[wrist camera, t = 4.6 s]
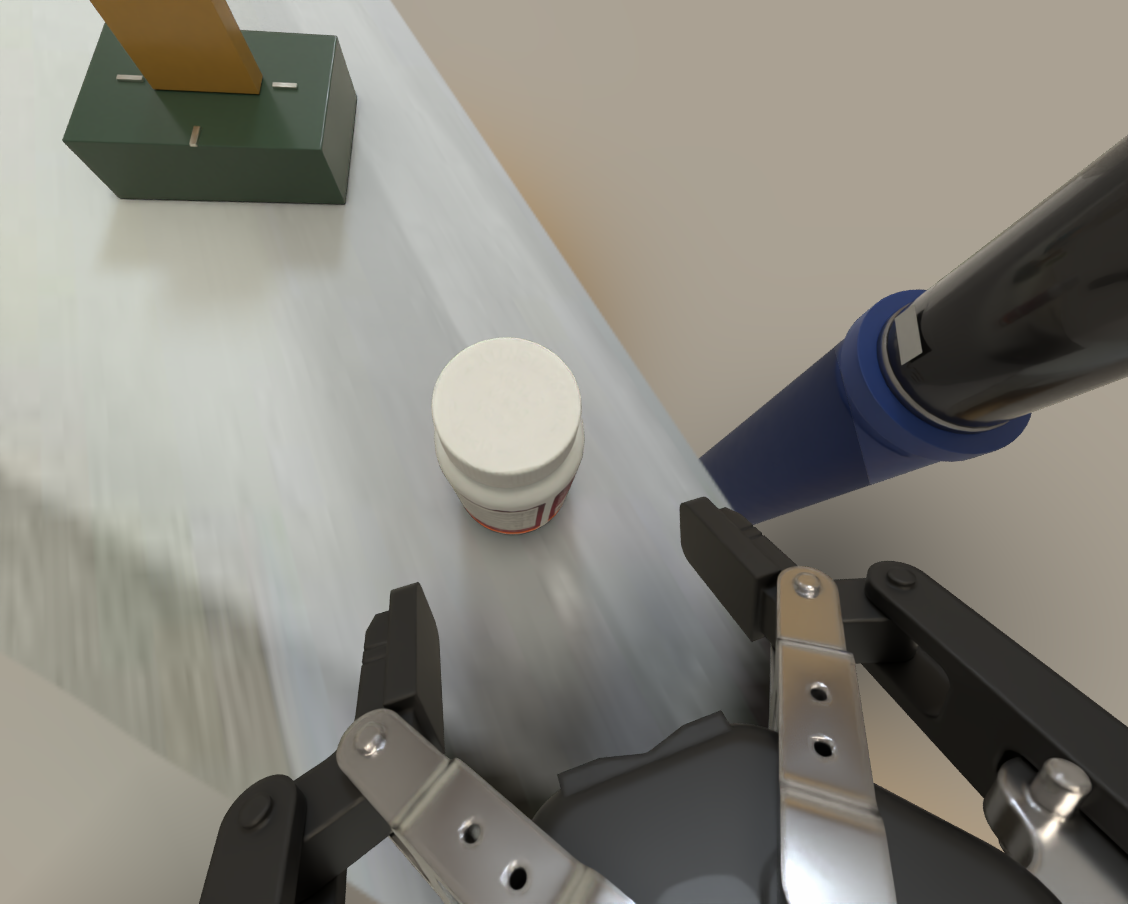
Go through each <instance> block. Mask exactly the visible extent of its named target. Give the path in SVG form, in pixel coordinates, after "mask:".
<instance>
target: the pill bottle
mask: <svg viewBox="0 0 1128 904" xmlns="http://www.w3.org/2000/svg"><path fill="white" fill-rule="evenodd" d="M581 409H582V406H581V396H580V391H579V387H578V385H577V382H576V380H575V378H574V376H573V374H572V372H571V371H570V369H569V368H568V367H567V365H566V364H565V363H564V362H563V361H562V360H561V359H560V358H559V357H558V356H557V355H556V354H554V353H553V352H551V351H550V350H548V349H547V348H545V347H543V346H541V345H539V344H537V343H534V342H531V341H528V340H524V339H519V338H494V339H489V340H485V341H481V342H479V343H476V344H474V345H472V346H470V347H468V348H466V349H464V350H463V351H461V352H460V353H459V354H457V355H456V356H455V357H454V358H453V359H452V360H451V361H450V362H449V363H448V364H447V365H446V367H445V368H444V369H443V371H442V372H441V374H440V376H439V378H438V380H437V382H436V385H435V388H434V391H433V396H432V417H433V423H434V426H435V432H434V440H435V450H436V455H437V459H438V462H439V464H440V468H441V470H442V472H443V474H444V475H445V477H446V478H447V480H448V481H449V483H450V484H451V486H452V487H453V489H454V491H455V492H456V494H457V496H458V497H459V499H460V501H461V502H462V504H463V506H464V507H465V509H466V510H467V511H468V513H469V514H470V515H471V516H472V517H473V518H474V519H475V520H476V521H477V522H478V523H480V524H481V525H482V526H484V527H486V528H488V529H490V530H492V531H495V532H499V533H503V534H523V533H527V532H530V531H533V530H535V529H538V528H540V527H541V526H543V525H544V524H546V523H547V522H549V521H550V520H551V519H552V518H553V517H554V516H555V515H556V514H557V512H558V511H559V510H560V508H561V506H562V505H563V503H564V501H565V499H566V496H567V494H568V491H569V489H570V486H571V484H572V482H573V479H574V477H575V475H576V472H577V470H578V467H579V465H580V462H581V460H582V456H583V449H584V428H583V422H582V418H581Z"/></svg>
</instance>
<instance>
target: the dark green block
mask: <svg viewBox="0 0 1128 904" xmlns="http://www.w3.org/2000/svg"><path fill="white" fill-rule="evenodd" d="M240 31H241V33H242V35H243V37H244V39H245V41H246V43H247V45H248V47H249V49H250V51H251V53H252V55H253V57H254V59H255V61H256V63H257V65H258V67H259V70H260V72H261V74H262V76H263V77H262V82H261V87H260V92H259V94H244V93H223V92H201V91H180V90H158V89H153V88H152V87H151V85H150V84H149V83H148V81H147V80H146V78H145V77H144V76H143V74H142V73H141V71H140V70H139V69H138V67H137V66H136V64H135V63H134V62H133V60H132V59H131V57H130V56H129V55H128V53H127V52H126V50H125V49H124V48H123V46H122V45H121V43H120V42H119V41H118V39H117V38H116V36H115V35H114V34H113V32H112V31H111V29H110V28H109V27H108V25H107V24H106V22H105V24H104V27H103V29H102V32H101V35H100V38H99V40H98V43H97V46H96V49H95V51H94V54H93V57H92V60H91V62H90V65H89V68H88V71H87V73H86V76H85V79H84V82H83V84H82V87H81V90H80V93H79V95H78V98H77V101H76V104H75V106H74V109H73V112H72V115H71V117H70V120H69V123H68V126H67V128H66V131H65V134H64V137H63V139H62V141H63V142H64V143H65V144H66V145H67V146H68V147H69V148H70V149H71V150H72V151H73V152H74V153H75V154H76V155H77V156H78V157H79V158H80V159H81V160H82V161H83V162H84V163H85V164H86V165H87V166H88V167H89V168H90V169H91V170H92V171H93V172H94V173H95V174H96V175H97V176H98V177H99V178H100V179H101V180H102V181H103V182H104V183H105V184H106V185H107V186H108V187H109V188H110V189H111V190H112V191H113V192H114V193H115V195H116V196H117V197H118V198H128V199H167V200H206V201H246V202H285V203H325V204H345V199H346V190H347V181H348V172H349V163H350V154H351V145H352V136H353V127H354V118H355V109H356V100H357V96H356V93H355V90H354V87H353V84H352V81H351V78H350V75H349V71H348V68H347V65H346V62H345V59H344V56H343V53H342V50H341V47H340V44H339V41H338V38H337V36H334V35H317V34H300V33H283V32H266V31H249V30H240Z"/></svg>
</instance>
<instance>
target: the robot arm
mask: <svg viewBox="0 0 1128 904" xmlns="http://www.w3.org/2000/svg"><path fill="white" fill-rule="evenodd" d="M877 358H878V363H879V367H880V370H881V373H882V375H883V378H884V380H885V382H886V384H887V385H888V387H889V389H890V390H891V392H892V393H893V394H894V396H895V397H896V398H897V399H898V400H899V401H900V403H901V404H902V405H903V406H904V407H906V408H907V409H908V410H909V411H910V412H911V413H913V414H914V415H915V416H917V417H918V418H919V419H921V420H923V421H924V422H926V423H928V424H930V425H932V426H934V427H936V428H939V429H942V430H945V431H948V432H953V433H959V434H977V433H982V432H985V431H989V430H991V429H994V428H997V427H999V426H1002V425H1004V424H1006V423H1007V422H1009V421H1010V420H1013V419H1016V418H1018V417H1021V416H1024V415H1026V414H1029V413H1032V412H1034V411H1037V410H1039V409H1042V408H1045V407H1048V406H1051V405H1054V404H1056V403H1059V402H1062V401H1064V400H1067V399H1070V398H1072V397H1075V396H1078V395H1080V394H1083V393H1086V392H1088V391H1091V390H1094V389H1096V388H1099V387H1102V386H1104V385H1107V384H1110V383H1112V382H1115V381H1118V380H1120V379H1123V378H1125V377H1128V135H1127V136H1126V137H1125V138H1123V139H1122V140H1121V141H1119V142H1118V143H1117V144H1115V145H1114V146H1113V147H1112V148H1110V149H1109V150H1108V151H1106V152H1105V153H1104V154H1103V155H1101V156H1100V157H1099V158H1097V159H1096V160H1095V161H1093V162H1092V163H1091V164H1090V165H1088V166H1087V167H1086V168H1085V169H1083V170H1082V171H1081V172H1079V173H1078V174H1077V175H1075V176H1074V177H1073V178H1072V179H1070V180H1069V181H1068V182H1066V183H1065V184H1064V185H1063V186H1061V187H1060V188H1059V189H1057V190H1056V191H1055V192H1054V193H1052V194H1051V195H1050V196H1048V197H1047V198H1046V199H1044V200H1043V201H1042V202H1041V203H1039V204H1038V205H1037V206H1035V207H1034V208H1033V209H1032V210H1030V211H1029V212H1028V213H1026V214H1025V215H1024V216H1023V217H1021V218H1020V219H1019V220H1017V221H1016V222H1015V223H1013V224H1012V225H1011V226H1010V227H1008V228H1007V229H1006V230H1004V231H1003V232H1002V233H1001V234H999V235H998V236H997V237H995V238H994V239H993V240H991V241H990V242H989V243H988V244H986V245H985V246H984V247H982V248H981V249H980V250H979V251H977V252H976V253H975V254H974V255H972V256H971V257H970V258H968V259H967V260H966V261H964V262H963V263H962V264H960V265H959V266H958V267H957V268H955V269H954V270H953V271H951V272H950V273H949V274H948V275H946V276H945V277H944V278H942V279H941V280H939V281H938V282H937V283H936V284H935V285H933V286H932V287H930V288H929V289H928V290H927V291H925V292H924V293H923V294H922V295H920V296H919V297H918V298H916V299H915V300H914V301H913V302H911V303H909V304H907V305H905V306H904V307H902V308H901V309H899V310H898V311H897V312H896V313H894V314H893V315H892V316H891V317H890V318H889V319H888V320H887V321H886V322H885V324H884V325H883V327H882V329H881V331H880V333H879V336H878V341H877ZM680 533H681V546H682V549H683V552H684V555H685V557H686V559H687V560H688V562H689V563H690V564H691V566H692V567H693V568H694V569H695V571H696V572H697V573H698V574H699V576H700V577H701V578H702V580H703V581H704V582H705V583H706V585H707V586H708V587H709V588H710V590H711V591H712V592H713V593H714V595H715V596H716V597H717V599H718V600H719V601H720V602H721V604H722V605H723V606H724V607H725V609H726V610H727V611H728V612H729V614H730V615H731V616H732V617H733V619H734V620H735V621H736V623H737V624H738V625H739V626H740V628H741V629H742V630H743V631H744V633H745V634H746V635H747V636H748V638H749V639H750V640H751V642H753V641H756V640H758V639H761V638H764V637H766V638H767V639H768V641H769V642H770V643H771V656H770V714H769V729H768V728H765V727H761V726H757V725H752V724H746V723H729V722H728V721H727V719H726V717H725V716H724V714H723V712H722V711H718V712H716V713H713V714H710V715H708V716H705V717H703V718H700V719H698V720H695V721H693V722H690V723H687V724H685V725H683V726H681V727H680V728H679V729H677V730H676V731H675V732H674V733H672V734H671V735H670V736H668V737H667V738H666V739H665V740H663V741H662V742H661V743H659V744H658V745H657V746H656V747H654V748H653V749H652V750H650V751H649V752H647V753H643V754H635V755H624V756H614V757H604V758H598V759H596V760H593V761H590V762H588V763H585V764H583V765H580V766H578V767H575V768H573V769H570V770H567V771H565V772H562V773H560V774H557V776H558V779H559V783H560V787H561V789H560V790H559V791H557V792H556V793H555V794H554V795H552V796H551V797H550V798H549V799H548V800H547V801H546V802H545V803H544V804H543V805H542V807H541V808H540V809H539V810H538V812H537V813H536V814H535V816H534V817H533V819H532V821H531V820H530V819H529V818H528V817H527V816H525V815H524V814H523V813H522V812H521V811H520V810H519V809H517V808H516V807H515V806H514V805H513V804H512V803H510V802H509V801H508V800H507V799H506V798H505V797H503V796H502V795H501V794H500V793H499V792H498V791H496V790H495V789H494V788H493V787H492V786H491V785H489V784H488V783H487V782H486V781H485V780H484V779H483V778H481V777H480V776H479V775H478V774H477V773H476V772H474V771H473V770H472V769H471V768H470V767H469V766H467V765H466V764H465V763H464V762H462V761H461V760H459V759H458V758H453V759H452V760H450V759H449V758H447V757H446V756H445V755H444V754H445V741H444V722H443V703H442V684H441V664H440V645H439V635H438V630H437V626H436V622H435V619H434V617H433V614H432V612H431V609H430V607H429V604H428V602H427V600H426V597H425V595H424V592H423V590H422V587H421V585H420V583H419V582H416V583H413V584H410V585H407V586H403V587H400V588H397V589H393V590H391V593H390V605H389V611H385V612H382V613H379V614H376V615H375V616H374V618H373V620H372V622H371V623H370V625H369V627H368V629H367V631H366V635H365V643H364V652H363V659H362V663H363V665H362V667H361V675H360V683H359V691H358V699H357V707H356V715H355V720H354V722H353V723H352V724H351V725H350V726H349V727H348V729H347V730H346V731H345V733H344V734H343V736H342V738H341V740H340V742H339V744H338V748H337V750H336V751H335V752H334V753H333V754H332V755H331V756H330V757H328V758H327V759H326V760H324V761H323V762H321V763H320V764H318V765H317V766H315V767H314V768H312V769H311V770H309V771H308V772H306V773H305V774H303V775H302V776H300V777H299V778H297V779H296V780H294V781H293V780H292V779H291V778H290V777H288V776H286V775H278V774H277V775H272V776H269V777H266V778H264V779H261V780H259V781H258V782H256V783H255V784H253V785H252V786H250V787H249V788H248V789H246V790H245V791H244V792H243V793H242V794H241V795H240V796H239V797H238V798H237V799H236V800H235V802H234V803H233V804H232V806H231V807H230V808H229V810H228V812H227V813H226V815H225V817H224V819H223V821H222V823H221V826H220V829H219V832H218V836H217V839H216V843H215V847H214V851H213V854H212V858H211V861H210V865H209V869H208V872H207V876H206V880H205V883H204V887H203V891H202V894H201V898H200V902H199V904H345V893H346V876H347V868H348V867H349V866H350V865H352V864H353V863H354V862H356V861H357V860H358V859H359V858H361V857H362V856H363V855H364V854H366V853H367V852H368V851H370V850H371V849H372V848H373V847H375V846H376V845H377V844H379V843H380V842H381V841H382V840H384V839H385V838H386V837H387V836H388V837H389V838H390V839H391V840H392V842H393V843H394V844H395V845H396V846H397V847H398V849H399V850H400V851H401V852H402V853H403V854H404V856H405V857H406V858H407V859H408V860H409V861H410V863H411V864H412V865H413V866H414V867H415V868H416V870H417V871H418V872H419V873H420V874H421V875H422V877H423V878H424V879H425V880H426V881H427V882H428V884H429V885H430V886H431V887H432V888H433V889H434V891H435V892H436V893H437V894H438V896H439V897H440V898H441V899H442V901H443V902H444V903H445V904H1128V727H1127V726H1126V725H1124V724H1123V723H1122V722H1120V721H1119V720H1118V719H1116V718H1115V717H1114V716H1112V715H1111V714H1110V713H1109V712H1107V711H1106V710H1105V709H1103V708H1102V707H1101V706H1099V705H1098V704H1097V703H1095V702H1094V701H1093V700H1091V699H1090V698H1089V697H1087V696H1086V695H1085V694H1083V693H1082V692H1081V691H1079V690H1078V689H1077V688H1075V687H1074V686H1073V685H1072V684H1070V683H1069V682H1068V681H1066V680H1065V679H1064V678H1062V677H1061V676H1060V675H1058V674H1057V673H1056V672H1054V671H1053V670H1052V669H1051V668H1049V667H1048V666H1047V665H1045V664H1044V663H1043V662H1041V661H1040V660H1039V659H1037V658H1036V657H1035V656H1033V655H1032V654H1031V653H1029V652H1028V651H1027V650H1025V649H1024V648H1023V647H1021V646H1020V645H1019V644H1018V643H1016V642H1015V641H1014V640H1012V639H1011V638H1010V637H1008V636H1007V635H1005V634H1004V633H1003V632H1002V631H1000V630H999V629H997V628H996V627H995V626H994V625H992V624H991V623H990V622H988V621H987V620H986V619H985V618H983V617H982V616H981V615H979V614H978V613H977V612H975V611H974V610H973V609H971V608H970V607H969V606H967V605H966V604H965V603H963V602H962V601H961V600H960V599H958V598H957V597H956V596H954V595H953V594H952V593H950V592H949V591H948V590H946V589H945V588H944V587H942V586H941V585H940V584H939V583H937V582H936V581H935V580H933V579H932V578H930V577H929V576H928V575H926V574H925V573H924V572H922V571H921V570H919V569H917V568H916V567H913V566H911V565H908V564H905V563H901V562H895V561H882V562H878V563H875V564H873V565H872V566H871V567H870V568H869V569H868V573H867V577H866V578H859V579H840V580H833V579H832V578H831V577H829V576H828V575H827V574H825V573H823V572H822V571H820V570H817V569H814V568H811V567H806V566H797V565H796V564H795V563H794V562H793V561H792V560H791V559H790V558H788V557H787V556H786V555H785V554H784V553H783V552H782V551H781V550H779V548H777V547H776V546H775V545H774V544H773V543H772V542H771V541H770V540H769V539H768V538H767V537H765V536H763V535H762V533H761V532H760V531H759V530H758V529H757V528H756V527H753V525H752V524H751V523H750V522H749V521H748V520H747V519H746V518H745V517H744V516H742V515H741V514H739V513H737V512H735V511H733V510H730V509H728V508H726V507H724V508H721V509H718V508H717V507H716V506H715V505H714V504H713V503H712V502H711V501H710V500H709V499H708V498H706V497H700V498H697V499H694V500H690V501H687V502H684V503H681V505H680ZM856 663H861V664H862V665H863V666H864V667H865V668H866V669H867V671H868V672H869V673H870V674H871V675H872V676H873V677H874V678H875V679H876V681H877V682H878V683H879V684H880V685H881V686H882V687H883V688H884V689H885V690H886V691H887V693H888V694H889V695H890V696H891V697H892V698H893V699H894V700H895V701H896V702H897V704H898V705H899V706H900V707H901V708H902V709H903V710H904V711H905V712H906V713H907V715H909V717H910V718H911V719H912V720H913V721H914V722H915V723H916V724H917V725H918V726H919V728H920V729H921V730H922V731H923V732H924V733H925V734H926V735H927V736H928V737H929V739H930V740H931V741H932V742H933V743H934V744H935V745H936V746H937V747H938V748H939V750H940V751H941V752H942V753H943V754H944V755H945V756H946V757H947V758H948V759H949V760H950V762H951V763H952V764H953V765H954V766H955V767H956V768H957V769H958V770H959V772H960V773H961V774H962V775H963V776H964V777H965V778H966V779H967V780H968V781H969V783H970V784H971V785H972V786H973V787H974V788H975V789H976V790H977V791H978V792H979V793H980V795H981V796H982V797H983V798H984V801H983V811H984V814H985V818H986V820H987V822H988V824H989V826H990V827H991V829H992V831H993V832H994V834H995V835H996V836H997V838H998V840H999V844H1000V846H1001V848H1002V849H1003V851H1004V852H1005V853H1004V852H1002V851H1000V850H999V849H997V848H995V847H994V846H992V845H990V844H989V843H987V842H985V841H983V840H981V839H979V838H977V837H975V836H973V835H972V834H969V833H968V832H966V831H964V830H962V829H960V828H958V827H956V826H954V825H952V824H951V823H949V822H947V821H945V820H943V819H941V818H939V817H937V816H935V815H934V814H932V813H930V812H928V811H926V810H924V809H922V808H920V807H918V806H917V805H915V804H913V803H911V802H909V801H907V800H905V799H903V798H901V797H900V796H898V795H896V794H894V793H892V792H890V791H888V790H886V789H884V788H883V787H881V786H878V785H877V784H875V783H873V778H872V771H871V765H870V758H869V752H868V745H867V738H866V732H865V725H864V719H863V712H862V706H861V700H860V693H859V686H858V679H857V673H856V666H855V664H856Z"/></svg>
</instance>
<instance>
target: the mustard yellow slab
mask: <svg viewBox="0 0 1128 904" xmlns="http://www.w3.org/2000/svg"><path fill="white" fill-rule="evenodd" d="M90 2H91V3H92V4H93V6H94V7H95V9H96V10H97V11H98V13H99V14H100V16H101V17H102V18H103V20H104V21H105V22H106V24H107V25H108V27H109V28H110V29H111V31H112V32H113V34H114V35H115V36H116V38H117V39H118V41H119V42H120V43H121V45H122V46H123V48H124V49H125V50H126V52H127V53H128V55H129V56H130V57H131V59H132V60H133V62H134V63H135V64H136V66H137V67H138V69H139V70H140V71H141V73H142V74H143V76H144V77H145V78H146V80H147V81H148V83H149V84H150V85H151V87H152V88H153V89H158V90H180V91H201V92H223V93H244V94H259V92H260V87H261V82H262V77H263V76H262V74H261V72H260V70H259V67H258V65H257V63H256V61H255V59H254V57H253V55H252V53H251V51H250V49H249V47H248V45H247V43H246V41H245V39H244V37H243V35H242V33H241V31H240V29H239V27H238V25H237V23H236V21H235V19H234V17H233V15H232V12H231V10H230V8H229V6H228V4H227V2H226V0H90Z"/></svg>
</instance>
